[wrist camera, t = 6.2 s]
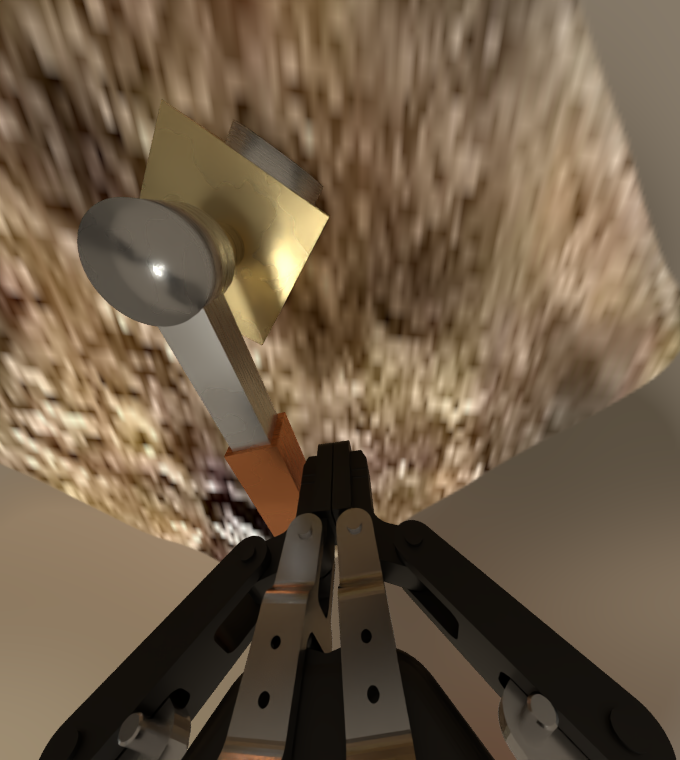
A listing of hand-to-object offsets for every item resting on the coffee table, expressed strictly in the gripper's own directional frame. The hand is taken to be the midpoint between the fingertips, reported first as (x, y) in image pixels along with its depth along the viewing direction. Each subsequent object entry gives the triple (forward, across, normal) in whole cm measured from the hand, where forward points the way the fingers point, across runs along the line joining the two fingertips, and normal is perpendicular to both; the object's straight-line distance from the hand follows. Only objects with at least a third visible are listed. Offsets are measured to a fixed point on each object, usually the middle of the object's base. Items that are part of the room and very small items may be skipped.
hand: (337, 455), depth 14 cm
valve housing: (+11, +4, -10) cm, 15 cm away
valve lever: (+1, +3, -4) cm, 5 cm away
